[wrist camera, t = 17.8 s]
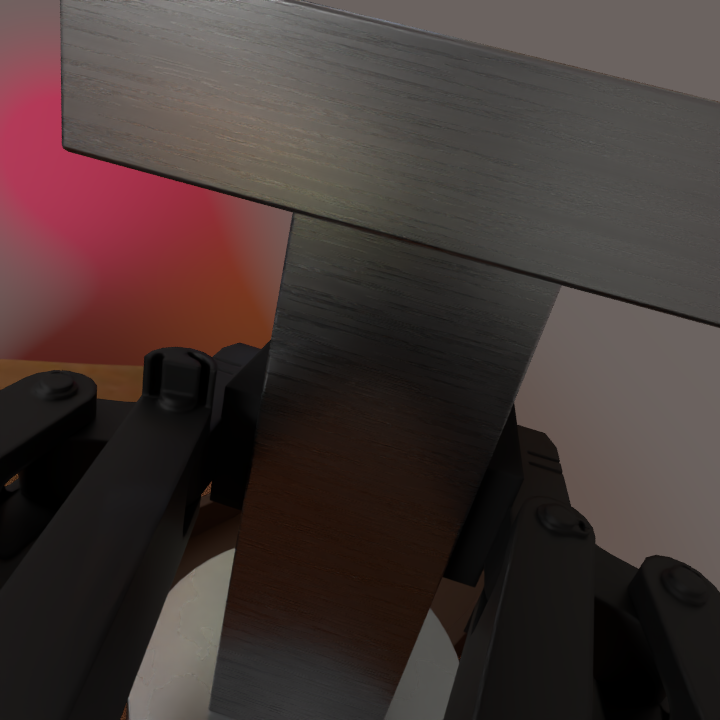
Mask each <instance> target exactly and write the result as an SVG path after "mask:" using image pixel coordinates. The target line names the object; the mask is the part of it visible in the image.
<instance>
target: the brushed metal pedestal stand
mask: <svg viewBox="0 0 720 720" xmlns="http://www.w3.org/2000/svg"><path fill="white" fill-rule="evenodd" d="M60 13H61V14H60V18H61V19H60V24H61V105H62V106H61V108H62V146H63V149H65V150H67V151H68V152H72V153H75V154H79V155H83V156H87V157H90V158H94V159H98V160H101V161H105V162H109V163H112V164H116V165H120V166H124V167H127V168H131V169H135V170H138V171H142V172H146V173H150V174H153V175H157V176H160V177H164V178H168V179H172V180H175V181H179V182H183V183H186V184H190V185H194V186H198V187H201V188H205V189H209V190H212V191H216V192H219V193H223V194H227V195H231V196H234V197H238V198H242V199H245V200H249V201H253V202H256V203H260V204H264V205H268V206H271V207H275V208H279V209H283V210H286V211H290V212H293V214H292V220H291V227H290V232H289V238H288V244H287V249H286V255H285V261H284V267H283V273H282V279H281V284H280V291H279V296H278V302H277V308H276V314H275V320H274V325H273V331H272V337H271V343H270V349H269V355H268V360H267V366H266V372H265V378H264V384H263V390H262V395H261V401H260V407H259V413H258V419H257V425H256V431H255V436H254V442H253V448H252V454H251V460H250V466H249V471H248V477H247V483H246V489H245V495H244V501H243V506H242V512H241V518H240V524H239V530H238V536H237V542H236V547H235V548H233V549H230V550H227V551H225V552H223V553H221V554H219V555H217V556H215V557H213V558H211V559H209V560H207V561H206V562H204V563H202V564H201V565H199V566H198V567H196V568H195V569H193V570H192V571H191V572H190V573H188V574H187V575H186V576H185V577H184V578H182V579H181V580H180V581H179V582H178V583H177V584H176V585H175V586H174V587H173V588H172V589H171V590H170V591H169V593H168V595H167V598H166V600H165V603H164V606H163V608H162V611H161V614H160V616H159V619H158V621H157V624H156V627H155V629H154V632H153V634H152V637H151V640H150V642H149V645H148V648H147V650H146V653H145V655H144V658H143V661H142V663H141V666H140V668H139V671H138V674H137V676H136V679H135V682H134V684H133V687H132V689H131V692H130V695H129V697H128V700H127V708H126V720H443V718H444V715H445V711H446V708H447V704H448V701H449V697H450V694H451V690H452V686H453V683H454V679H455V676H456V672H457V669H458V665H459V660H458V657H457V654H456V652H455V649H454V647H453V645H452V643H451V640H450V638H449V636H448V634H447V633H446V631H445V629H444V627H443V626H442V624H441V622H440V621H439V619H438V618H437V616H436V615H435V614H434V612H433V611H432V610H431V608H430V607H431V604H432V602H433V599H434V597H435V594H436V592H437V589H438V587H439V585H440V582H441V580H442V577H443V575H444V572H445V570H446V567H447V565H448V562H449V560H450V558H451V555H452V553H453V550H454V548H455V545H456V543H457V540H458V538H459V536H460V533H461V531H462V528H463V526H464V523H465V521H466V518H467V516H468V514H469V511H470V509H471V506H472V504H473V501H474V499H475V496H476V494H477V491H478V489H479V487H480V484H481V482H482V479H483V477H484V474H485V472H486V469H487V467H488V465H489V462H490V460H491V457H492V455H493V452H494V450H495V447H496V445H497V443H498V440H499V438H500V435H501V433H502V430H503V428H504V425H505V423H506V420H507V418H508V416H509V413H510V411H511V408H512V406H513V403H514V401H515V398H516V396H517V394H518V391H519V388H520V386H521V383H522V381H523V379H524V376H525V374H526V371H527V369H528V367H529V364H530V362H531V359H532V357H533V354H534V352H535V349H536V347H537V345H538V342H539V340H540V337H541V335H542V332H543V330H544V327H545V325H546V322H547V320H548V318H549V315H550V313H551V310H552V308H553V305H554V303H555V301H556V298H557V295H558V293H559V291H560V288H561V286H562V285H563V286H567V287H570V288H574V289H578V290H581V291H585V292H589V293H592V294H596V295H600V296H604V297H607V298H611V299H614V300H618V301H622V302H626V303H630V304H633V305H637V306H640V307H644V308H648V309H651V310H655V311H659V312H663V313H666V314H670V315H674V316H677V317H681V318H685V319H688V320H692V321H696V322H699V323H703V324H707V325H710V326H714V327H718V328H720V102H718V101H714V100H709V99H705V98H701V97H697V96H693V95H689V94H685V93H681V92H676V91H673V90H668V89H664V88H660V87H656V86H652V85H648V84H644V83H640V82H636V81H632V80H627V79H623V78H619V77H615V76H611V75H607V74H603V73H599V72H595V71H590V70H587V69H582V68H578V67H574V66H570V65H566V64H562V63H557V62H554V61H549V60H545V59H541V58H537V57H533V56H529V55H525V54H521V53H516V52H513V51H508V50H504V49H500V48H496V47H492V46H488V45H484V44H480V43H476V42H472V41H467V40H463V39H459V38H455V37H451V36H447V35H443V34H439V33H434V32H431V31H427V30H422V29H418V28H414V27H410V26H406V25H402V24H398V23H394V22H390V21H385V20H381V19H377V18H373V17H369V16H365V15H361V14H357V13H353V12H349V11H344V10H340V9H336V8H332V7H328V6H324V5H319V4H316V3H312V2H307V1H303V0H60Z"/></svg>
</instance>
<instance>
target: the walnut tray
mask: <svg viewBox="0 0 720 720" xmlns="http://www.w3.org/2000/svg"><path fill="white" fill-rule="evenodd" d="M241 512H242V511H241V510H238V509H235V508H232V507H229V506H226V505H223V504H220V503H217V502H214V501H211V500H210V493H209V494H207V495H205V496H202V497H201V501H200V509H199V514H198V517H197V519H196V522H195V525H194V527H193V530H192V532H191V535H190V538H189V540H188V543H187V546H186V548H185V551H184V553H183V556H182V559H181V561H180V564H179V566H178V569H177V572H176V574H175V577H174V580H173V582H172V585H171V587H170V590H171V589H172V588H173V587H174V586H175V585H176V584H177V583H178V582H179V581H180V580H181V579H182V578H184V577H185V576H186V575H187V574H188V573H190V572H191V571H192V570H193V569H195V568H196V567H198V566H199V565H201V564H202V563H204V562H206V561H207V560H209V559H211V558H213V557H215V556H217V555H219V554H221V553H223V552H225V551H227V550H230V549H233V548H235V547H236V542H237V536H238V530H239V524H240V518H241ZM483 588H484V569H483V572H482V574H481V576H480V578H479V580H478V583H477V585H476V587H475V588H474V587H471V586H468V585H465V584H462V583H459V582H456V581H453V580H450V579H447V578H444V577H442V580H441V582H440V585H439V587H438V589H437V592H436V594H435V597H434V599H433V602H432V604H431V607H430V608H431V610H432V611H433V612H434V614H435V615H436V616H437V618H438V619H439V621H440V622H441V624H442V626H443V627H444V629H445V631H446V633H447V634H448V636H449V638H450V640H451V643H452V645H453V647H454V649H455V652H456V654H457V657H459V655H460V654H461V653H462V651H463V648H464V644H465V641H466V637H467V633H465V632H463V631H464V629H465V627H466V625H467V622H468V620H469V618H470V616H471V614H472V612H473V609H474V607H475V605H476V603H477V601H478V599H479V596H480V594H481V592H482V590H483ZM170 590H169V591H170Z"/></svg>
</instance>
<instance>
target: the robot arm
mask: <svg viewBox="0 0 720 720" xmlns="http://www.w3.org/2000/svg"><path fill="white" fill-rule="evenodd" d="M270 343H271V340H270V341H269V342H268V343H267V344H266V345H265V346H264V347H263V348H262V349H259V348H256V347H252V346H249V345H246V344H242V343H237V344H234V345H230V346H227V347H224V348H222V349H221V350H220V351H219V352H218V353H217V354H215V355H214V356H213V357H211V356H209V355H207V354H206V353H204V352H201V351H198V350H195V349H191V348H183V347H168V348H161V349H157V350H154V351H151V352H150V353H148V354H147V355H146V356H145V357H144V372H143V389H142V396H141V397H140V398H139V400H138V401H137V402H123V401H114V400H105V399H97V385H96V384H95V382H94V381H93V380H92V379H91V378H89V377H87V376H85V375H83V374H79V373H75V372H71V371H64V370H62V371H60V370H52V371H48V372H41V373H36V374H34V375H31V376H28V377H25V378H23V379H21V380H19V381H17V382H15V383H14V384H12V385H10V386H8V387H6V388H4V389H2V390H0V720H120V718H121V716H122V713H123V710H124V708H125V705H126V702H127V700H128V697H129V695H130V692H131V689H132V687H133V684H134V682H135V679H136V676H137V674H138V671H139V668H140V666H141V663H142V661H143V658H144V655H145V653H146V650H147V648H148V645H149V642H150V640H151V637H152V634H153V632H154V629H155V627H156V624H157V621H158V619H159V616H160V614H161V611H162V608H163V606H164V603H165V600H166V598H167V595H168V593H169V590H170V587H171V585H172V582H173V580H174V577H175V574H176V572H177V569H178V566H179V564H180V561H181V559H182V556H183V553H184V551H185V548H186V546H187V543H188V540H189V538H190V535H191V532H192V530H193V527H194V525H195V522H196V519H197V517H198V514H199V509H200V501H201V494H202V493H203V492H204V490H205V489H206V488H207V486H208V485H209V484H210V482H211V481H212V486H211V493H210V500H211V501H214V502H217V503H220V504H223V505H226V506H229V507H232V508H235V509H238V510H241V511H242V506H243V501H244V495H245V489H246V483H247V477H248V471H249V466H250V460H251V454H252V448H253V442H254V436H255V431H256V425H257V419H258V413H259V407H260V401H261V395H262V390H263V384H264V378H265V372H266V366H267V360H268V355H269V349H270ZM559 462H560V460H559V456H558V452H557V448H556V447H555V445H554V444H553V443H552V441H551V440H550V439H549V438H548V436H547V435H546V434H545V433H543V432H539V431H536V430H533V429H529V428H526V427H523V426H520V425H517V421H516V413H515V406H514V403H513V406H512V408H511V411H510V413H509V416H508V418H507V420H506V423H505V425H504V428H503V430H502V433H501V435H500V438H499V440H498V443H497V445H496V447H495V450H494V452H493V455H492V457H491V460H490V462H489V465H488V467H487V469H486V472H485V474H484V477H483V479H482V482H481V484H480V487H479V489H478V491H477V494H476V496H475V499H474V501H473V504H472V506H471V509H470V511H469V514H468V516H467V518H466V521H465V523H464V526H463V528H462V531H461V533H460V536H459V538H458V540H457V543H456V545H455V548H454V550H453V553H452V555H451V558H450V560H449V562H448V565H447V567H446V570H445V572H444V575H443V577H444V578H447V579H450V580H453V581H456V582H459V583H462V584H465V585H468V586H471V587H474V588H475V587H476V585H477V583H478V580H479V578H480V576H481V574H482V572H483V569H484V588H483V590H482V592H481V594H480V596H479V599H478V601H477V603H476V605H475V607H474V609H473V612H472V614H471V616H470V618H469V620H468V622H467V625H466V627H465V629H464V631H463V632H465V633H467V637H466V641H465V644H464V648H463V651H462V655H461V658H460V662H459V665H458V669H457V672H456V676H455V679H454V683H453V686H452V690H451V694H450V697H449V701H448V704H447V708H446V711H445V715H444V718H443V720H720V592H719V591H718V590H717V588H716V587H715V586H714V585H713V584H712V583H711V582H710V581H708V579H706V578H705V577H704V576H703V575H702V574H701V573H700V572H698V571H697V570H695V569H693V568H691V566H689V565H687V564H685V563H683V562H680V561H677V560H675V559H673V558H670V557H665V556H659V555H654V556H650V557H646V559H645V560H644V562H643V563H642V565H641V567H640V568H639V569H638V568H636V567H634V566H632V565H630V564H628V563H626V562H624V561H622V560H621V559H619V558H617V557H615V556H613V555H611V554H610V553H608V552H607V551H605V550H603V549H602V548H600V547H599V546H597V545H596V544H595V534H594V531H593V527H592V526H591V525H590V523H589V522H588V521H587V519H586V518H585V517H584V516H583V515H581V514H580V513H579V512H578V511H577V510H576V509H574V508H573V507H571V504H570V500H569V496H568V492H567V488H566V484H565V480H564V477H563V475H562V468H561V464H560V463H559ZM17 473H18V477H19V478H18V479H17V480H15V481H14V482H13V483H11V484H10V485H8V486H4V485H5V484H6V483H7V482H8V481H9V480H10V479H11V478H12V477H13V476H15V475H16V474H17Z"/></svg>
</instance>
